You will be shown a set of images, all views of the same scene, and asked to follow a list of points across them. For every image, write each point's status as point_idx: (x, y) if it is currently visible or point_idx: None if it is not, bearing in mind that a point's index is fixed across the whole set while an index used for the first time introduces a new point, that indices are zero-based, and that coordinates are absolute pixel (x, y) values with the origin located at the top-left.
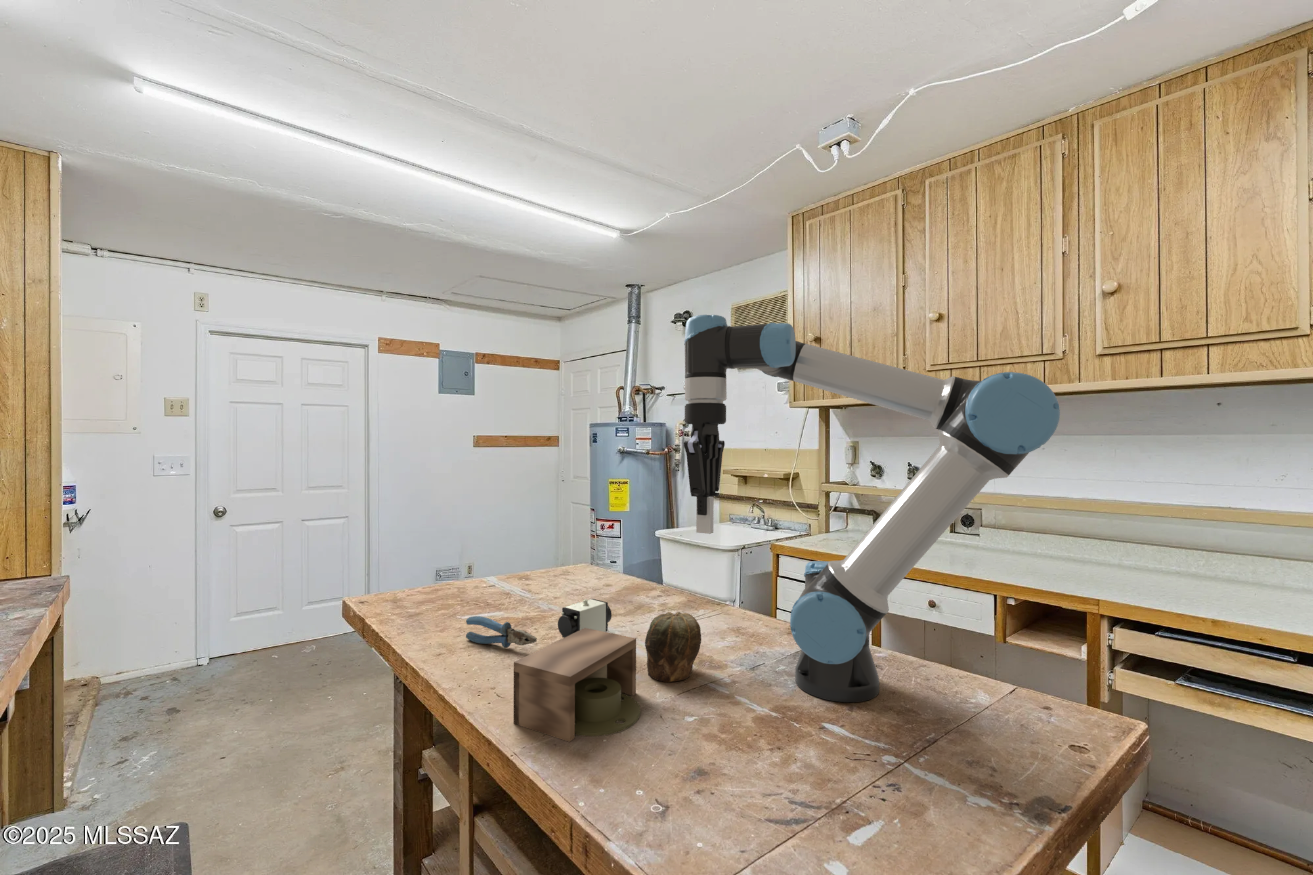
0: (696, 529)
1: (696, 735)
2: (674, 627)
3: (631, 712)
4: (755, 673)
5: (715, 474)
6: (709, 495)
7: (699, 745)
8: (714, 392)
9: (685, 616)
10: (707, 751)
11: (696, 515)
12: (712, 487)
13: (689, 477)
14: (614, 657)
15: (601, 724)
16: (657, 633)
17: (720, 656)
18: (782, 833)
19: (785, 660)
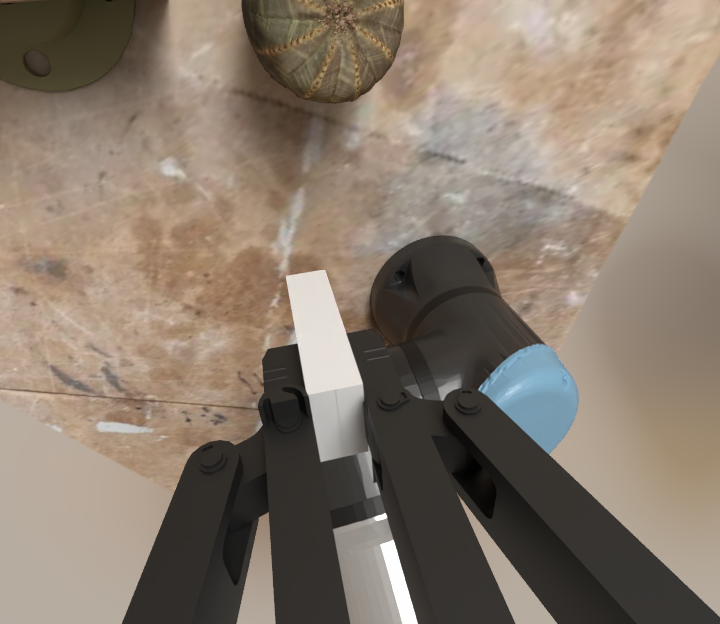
0: (287, 283)
1: (132, 209)
2: (279, 62)
3: (83, 61)
4: (409, 171)
5: (508, 546)
6: (367, 439)
7: (112, 229)
8: None
9: (347, 59)
10: (108, 247)
11: (294, 321)
12: (381, 497)
13: (139, 587)
14: (23, 1)
15: None
16: (253, 6)
17: (458, 62)
18: (47, 385)
19: (492, 189)
